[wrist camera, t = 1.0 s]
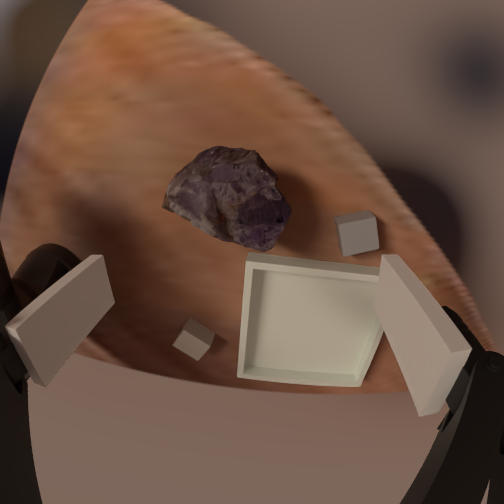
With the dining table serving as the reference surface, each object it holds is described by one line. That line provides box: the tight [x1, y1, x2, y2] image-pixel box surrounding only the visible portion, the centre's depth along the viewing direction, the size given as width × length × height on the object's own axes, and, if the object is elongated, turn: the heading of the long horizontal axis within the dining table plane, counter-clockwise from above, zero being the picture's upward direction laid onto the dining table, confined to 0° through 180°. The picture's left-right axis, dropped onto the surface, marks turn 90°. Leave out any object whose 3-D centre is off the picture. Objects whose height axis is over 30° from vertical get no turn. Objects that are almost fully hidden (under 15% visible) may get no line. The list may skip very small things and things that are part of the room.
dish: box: [237, 252, 384, 387], centre depth 35 cm, size 18×18×2 cm
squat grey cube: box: [334, 210, 379, 257], centre depth 30 cm, size 4×4×3 cm
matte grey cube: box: [173, 318, 215, 361], centre depth 37 cm, size 4×4×3 cm
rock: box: [162, 146, 292, 252], centre depth 27 cm, size 12×9×10 cm
